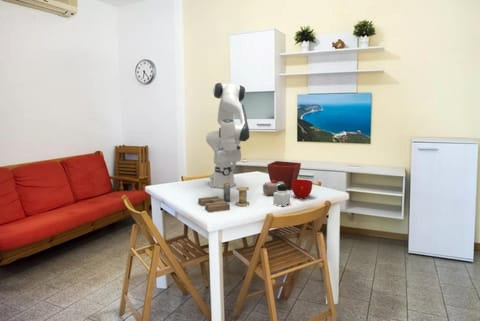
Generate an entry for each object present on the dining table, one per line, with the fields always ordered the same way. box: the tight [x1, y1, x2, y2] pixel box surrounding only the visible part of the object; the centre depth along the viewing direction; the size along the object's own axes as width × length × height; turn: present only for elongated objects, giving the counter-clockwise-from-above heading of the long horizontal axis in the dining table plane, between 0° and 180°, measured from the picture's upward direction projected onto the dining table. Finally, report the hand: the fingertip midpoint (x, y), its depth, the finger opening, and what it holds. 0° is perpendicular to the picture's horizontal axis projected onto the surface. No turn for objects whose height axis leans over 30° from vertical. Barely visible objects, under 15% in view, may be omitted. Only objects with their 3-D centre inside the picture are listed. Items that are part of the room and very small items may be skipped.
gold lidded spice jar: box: [223, 183, 231, 203], centre depth 220 cm, size 4×4×11 cm
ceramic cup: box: [291, 179, 313, 199], centre depth 229 cm, size 13×17×10 cm
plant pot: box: [267, 160, 302, 191], centre depth 258 cm, size 19×19×17 cm
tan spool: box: [235, 185, 250, 207], centre depth 214 cm, size 8×8×10 cm
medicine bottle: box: [272, 184, 291, 207], centre depth 214 cm, size 7×7×12 cm
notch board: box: [197, 195, 231, 213], centre depth 210 cm, size 20×12×3 cm, turn 24°
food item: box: [262, 179, 285, 197], centre depth 237 cm, size 14×8×10 cm, turn 101°
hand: (227, 170), depth 218 cm, fingers open, 8 cm apart
